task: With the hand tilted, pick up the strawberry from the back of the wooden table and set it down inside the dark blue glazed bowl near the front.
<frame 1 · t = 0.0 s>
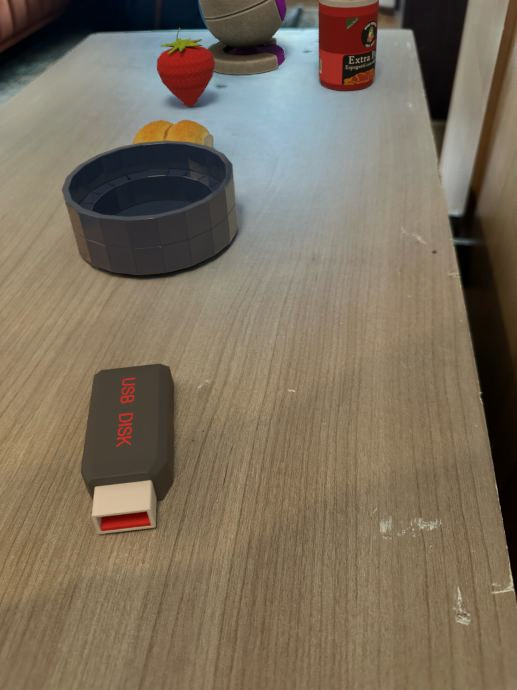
strawberry: (191, 108, 86), on the table
bread roll: (175, 158, 75), on the table
usb drive: (133, 454, 41), on the table
canned food: (346, 82, 90), on the table
webcam: (246, 61, 99), on the table
bowl: (158, 234, 62), on the table
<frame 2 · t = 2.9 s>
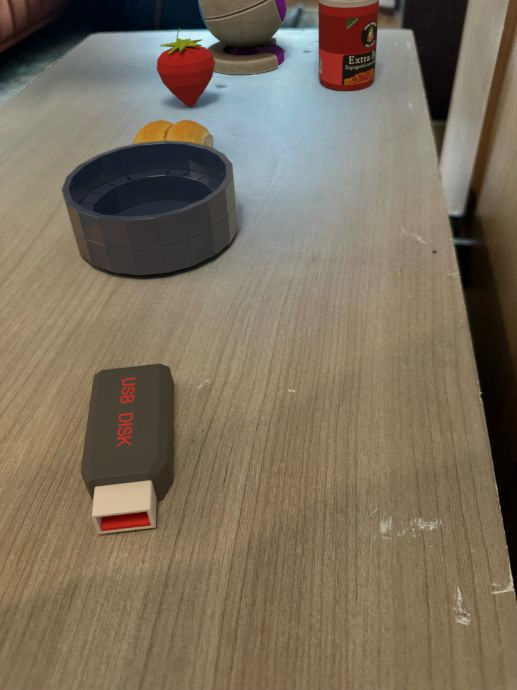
nothing on the table moved.
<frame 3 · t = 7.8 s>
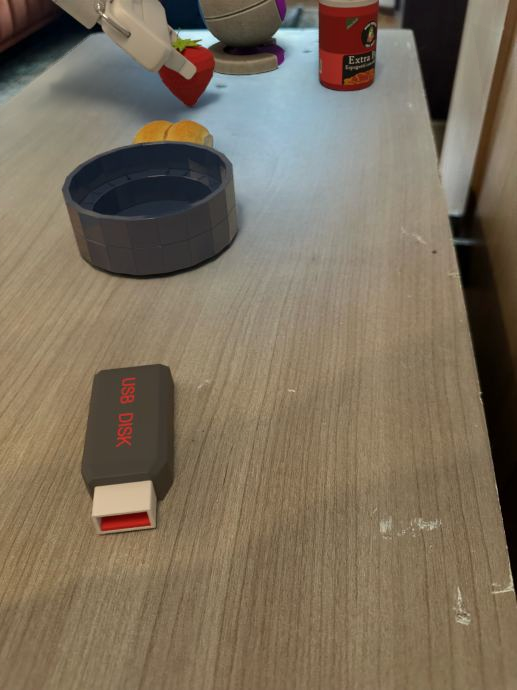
hand: (190, 64, 83), 5 cm above the table, tool tilted 45°, fingers closed on strawberry, 6 cm apart
strawberry: (191, 108, 86), on the table, touching gripper
everything else where it was.
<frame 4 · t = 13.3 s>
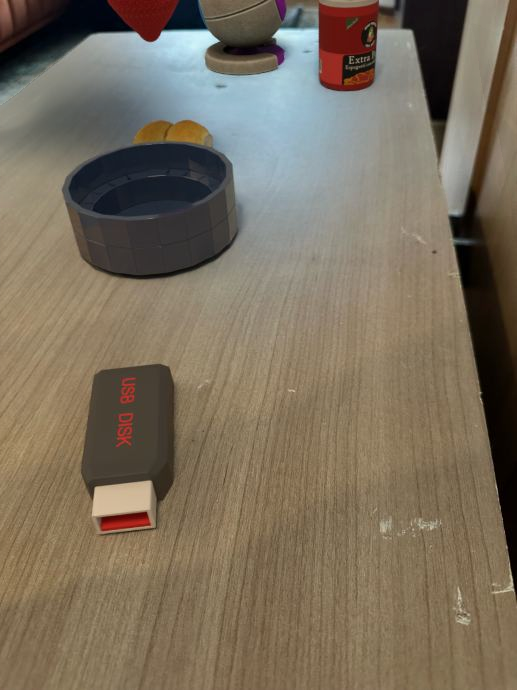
strawberry: (152, 44, 61), point 14 cm above the table, touching gripper
everything else where it was.
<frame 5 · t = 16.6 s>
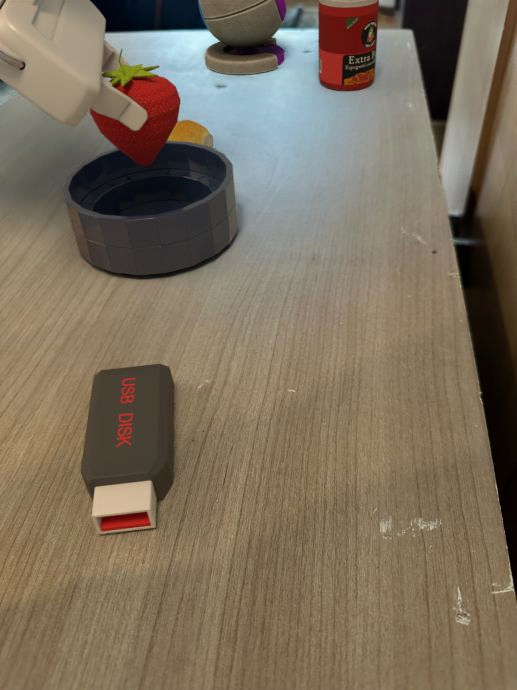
hand: (142, 104, 53), 12 cm above the table, tool tilted 45°, fingers closed on strawberry, 6 cm apart
strawberry: (147, 167, 57), point 7 cm above the table, touching gripper
everything else where it was.
when the fingers open (6 cm above the table, at t = 19.1 s): strawberry stays where it is, resting on bowl.
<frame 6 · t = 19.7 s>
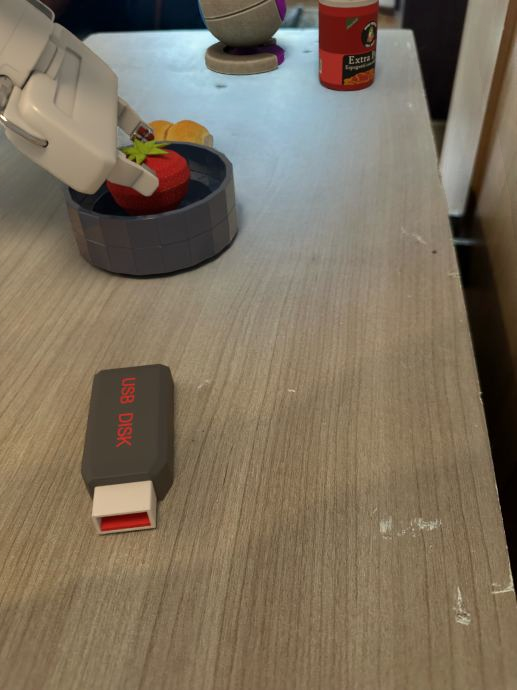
hand: (152, 162, 57), 7 cm above the table, tool tilted 45°, fingers open, 8 cm apart
strawberry: (158, 231, 61), resting on bowl
everything else where it was.
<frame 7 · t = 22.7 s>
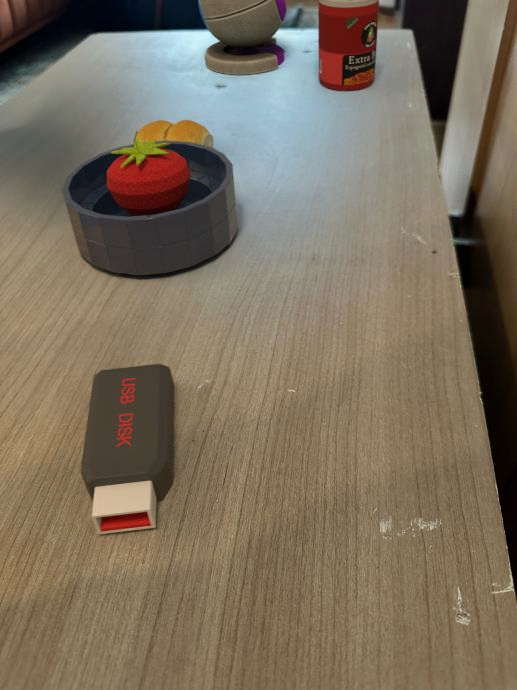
nothing on the table moved.
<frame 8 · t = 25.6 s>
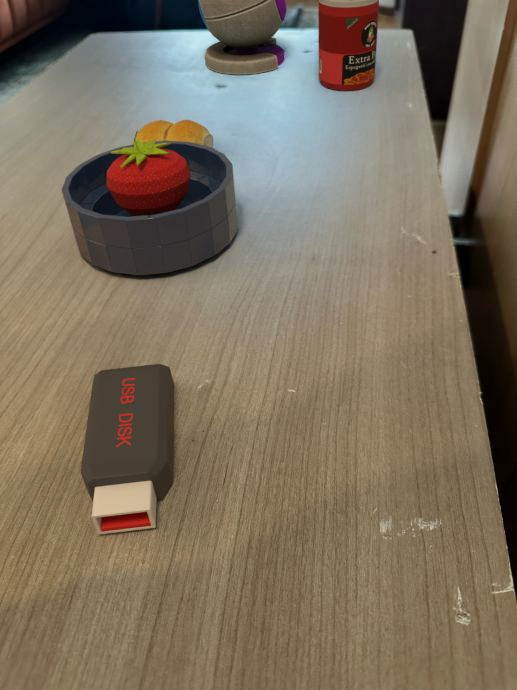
nothing on the table moved.
at the end: strawberry inside the target area in the bowl (0.2 cm from its centre), point 0.4 cm above the bowl's base; the gripper is holding nothing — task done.
